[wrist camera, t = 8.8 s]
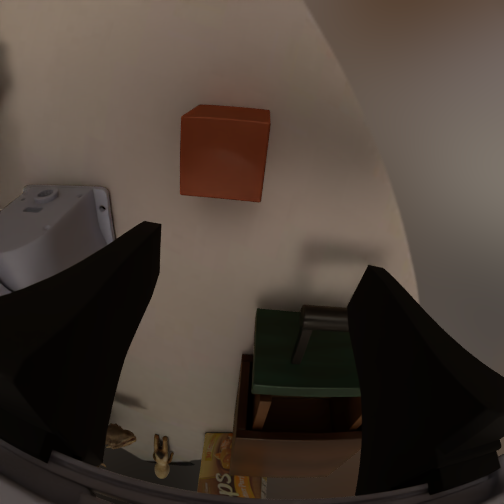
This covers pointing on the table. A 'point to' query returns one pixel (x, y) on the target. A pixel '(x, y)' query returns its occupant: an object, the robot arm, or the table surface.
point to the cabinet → (283, 444)
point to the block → (224, 152)
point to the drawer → (304, 372)
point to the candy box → (225, 471)
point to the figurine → (161, 457)
